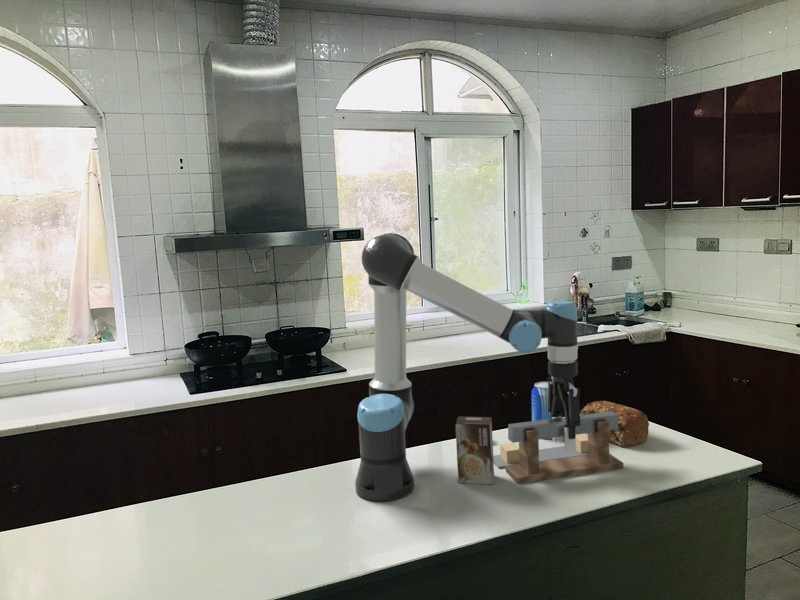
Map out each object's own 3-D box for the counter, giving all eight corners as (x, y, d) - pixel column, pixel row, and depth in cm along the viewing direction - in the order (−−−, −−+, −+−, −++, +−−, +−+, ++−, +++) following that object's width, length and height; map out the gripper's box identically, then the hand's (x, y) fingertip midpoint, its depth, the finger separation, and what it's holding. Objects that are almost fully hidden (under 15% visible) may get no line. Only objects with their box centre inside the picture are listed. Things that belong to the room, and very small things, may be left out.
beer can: (560, 440, 192) (560, 388, 190) (532, 439, 194) (531, 388, 192) (559, 430, 201) (558, 380, 198) (532, 430, 202) (531, 380, 200)
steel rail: (512, 442, 165) (512, 427, 164) (508, 438, 168) (507, 424, 167) (618, 428, 171) (618, 414, 170) (612, 425, 174) (612, 411, 173)
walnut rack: (517, 483, 164) (516, 434, 162) (505, 471, 172) (504, 424, 170) (623, 468, 170) (623, 421, 168) (607, 457, 178) (607, 412, 176)
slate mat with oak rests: (498, 468, 174) (498, 454, 173) (488, 457, 182) (488, 444, 181) (606, 453, 180) (606, 440, 180) (591, 444, 188) (591, 430, 188)
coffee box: (495, 475, 170) (493, 416, 168) (492, 485, 164) (490, 424, 161) (460, 473, 172) (458, 415, 170) (457, 483, 166) (454, 423, 164)
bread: (649, 443, 187) (650, 410, 186) (621, 450, 183) (621, 416, 181) (605, 425, 204) (605, 394, 203) (578, 431, 200) (578, 400, 198)
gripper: (594, 367, 158) (595, 456, 161) (559, 351, 177) (560, 431, 180) (566, 370, 156) (568, 460, 160) (533, 353, 175) (535, 434, 178)
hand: (564, 444), depth 170 cm, fingers open, 6 cm apart
